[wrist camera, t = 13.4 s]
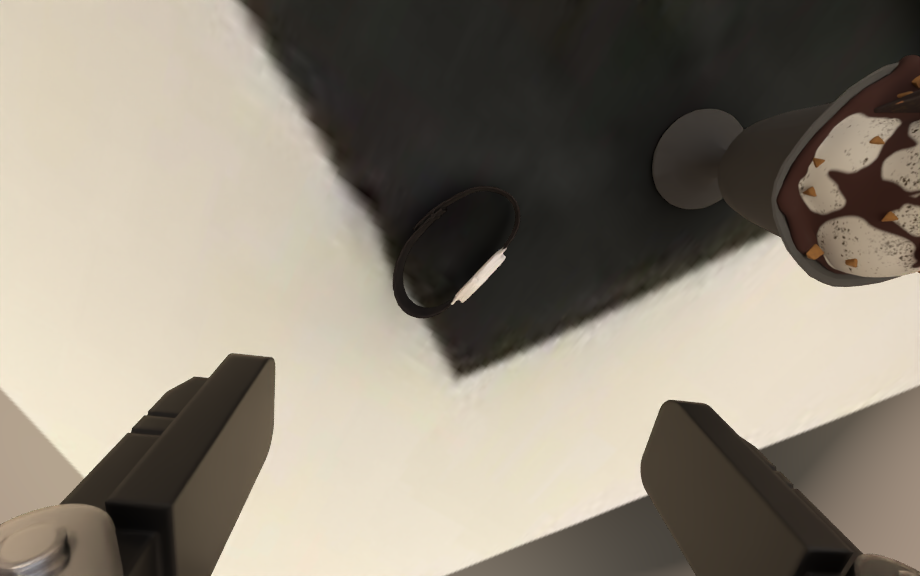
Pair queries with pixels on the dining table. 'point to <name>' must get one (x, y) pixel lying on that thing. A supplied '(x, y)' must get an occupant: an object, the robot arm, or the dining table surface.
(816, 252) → the sundae
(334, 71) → the dining table surface
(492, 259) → the watch
